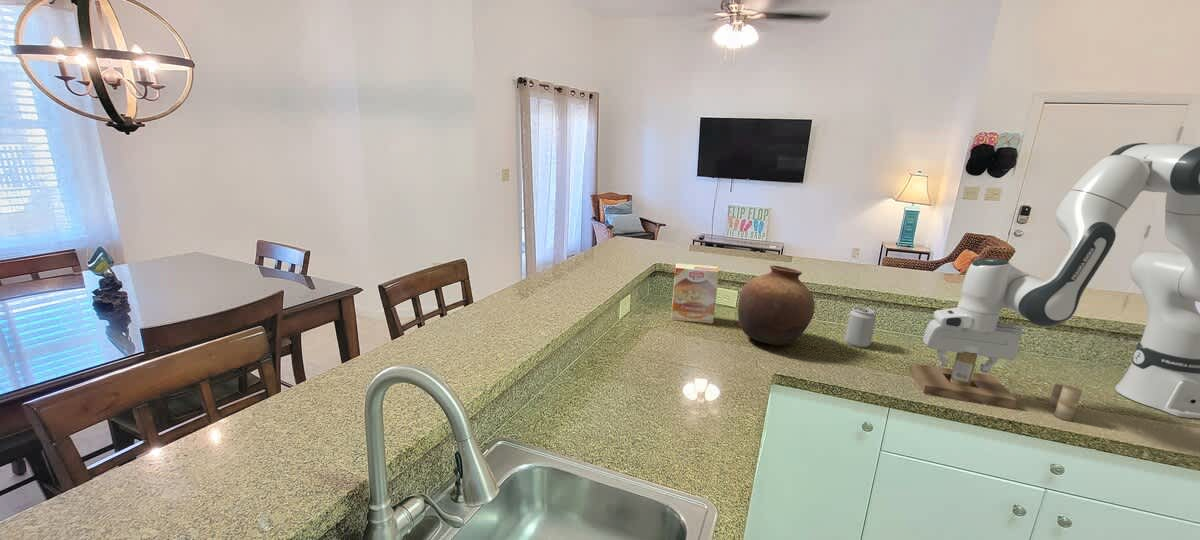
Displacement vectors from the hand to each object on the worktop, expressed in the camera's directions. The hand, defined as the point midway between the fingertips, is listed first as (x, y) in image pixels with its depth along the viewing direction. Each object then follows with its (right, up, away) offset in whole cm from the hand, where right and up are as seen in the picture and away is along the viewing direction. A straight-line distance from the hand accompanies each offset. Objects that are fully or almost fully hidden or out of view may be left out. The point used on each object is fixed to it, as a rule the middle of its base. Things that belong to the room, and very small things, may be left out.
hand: (963, 368), depth 129 cm
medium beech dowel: (+17, -10, -11) cm, 22 cm away
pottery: (-41, +3, +29) cm, 50 cm away
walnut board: (0, -6, +2) cm, 6 cm away
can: (-13, +2, +29) cm, 32 cm away
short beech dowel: (+21, -9, -5) cm, 23 cm away
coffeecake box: (-64, +8, +46) cm, 79 cm away
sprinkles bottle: (0, -6, +1) cm, 6 cm away
